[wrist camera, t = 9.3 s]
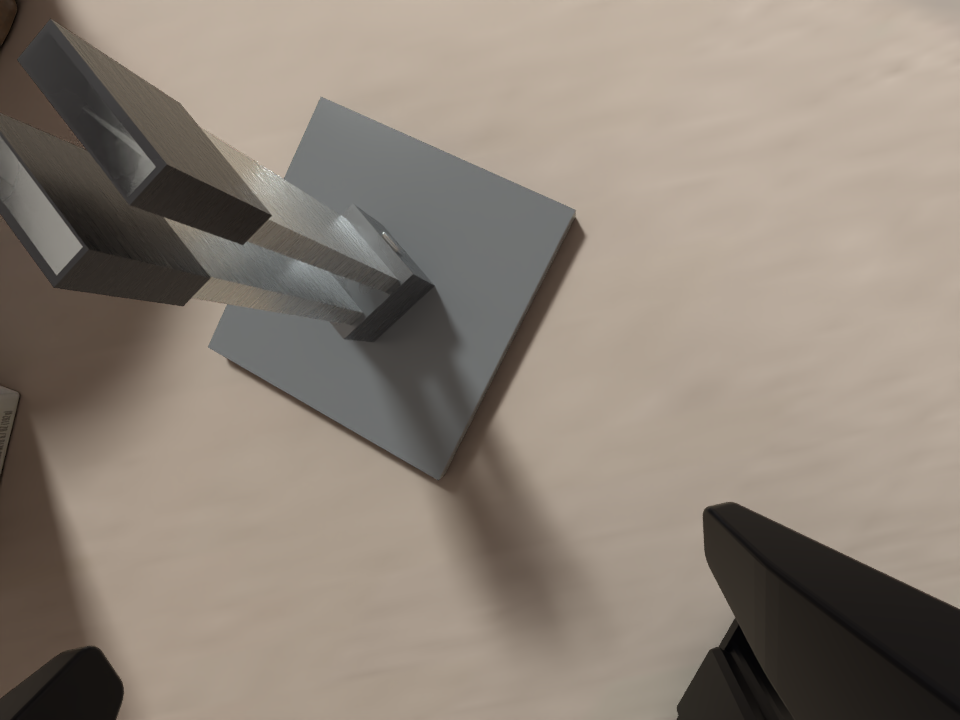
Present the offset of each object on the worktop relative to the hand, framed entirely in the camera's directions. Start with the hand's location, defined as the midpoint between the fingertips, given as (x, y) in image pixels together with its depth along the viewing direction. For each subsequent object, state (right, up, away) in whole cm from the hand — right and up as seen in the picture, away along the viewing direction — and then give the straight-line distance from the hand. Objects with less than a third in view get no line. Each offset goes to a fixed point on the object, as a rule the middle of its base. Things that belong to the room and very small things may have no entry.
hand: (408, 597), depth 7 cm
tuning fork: (-3, +6, +12) cm, 14 cm away
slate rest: (-3, +6, +13) cm, 14 cm away
